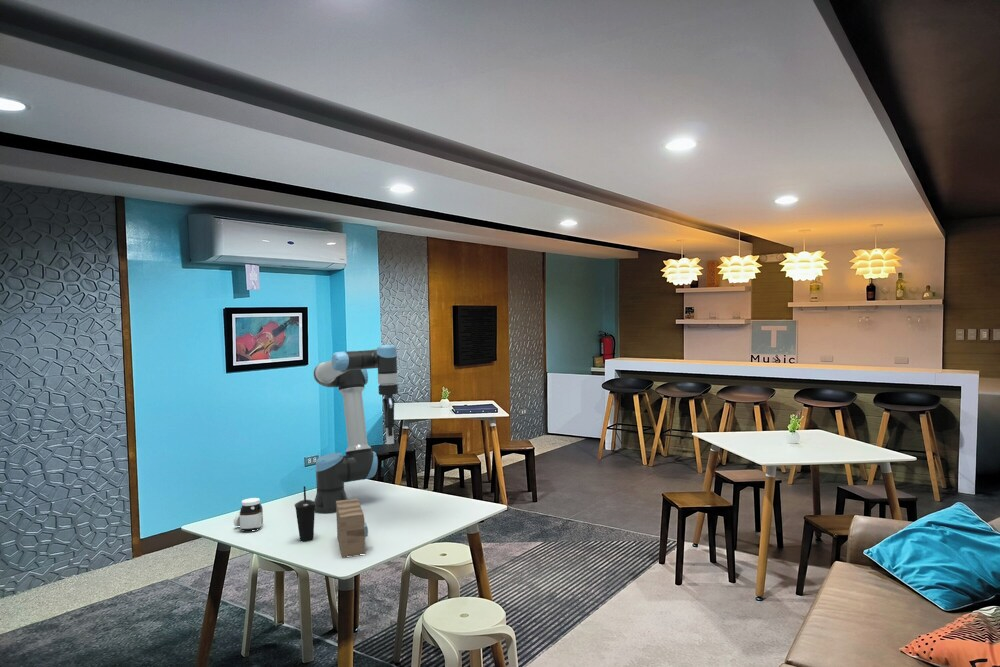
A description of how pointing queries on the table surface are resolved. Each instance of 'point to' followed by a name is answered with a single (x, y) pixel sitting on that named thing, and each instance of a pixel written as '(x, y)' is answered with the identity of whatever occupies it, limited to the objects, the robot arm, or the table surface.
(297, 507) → the drinking cup
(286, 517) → the table surface
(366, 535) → the slate key
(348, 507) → the brown wooden block
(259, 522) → the spread jar
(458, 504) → the table surface
